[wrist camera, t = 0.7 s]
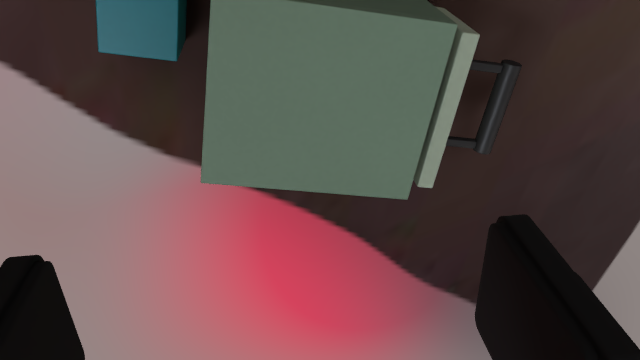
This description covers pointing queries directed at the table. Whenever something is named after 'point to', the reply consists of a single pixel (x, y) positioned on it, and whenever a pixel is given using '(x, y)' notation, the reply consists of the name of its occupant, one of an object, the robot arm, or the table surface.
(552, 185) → the table surface
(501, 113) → the drawer
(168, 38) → the cube
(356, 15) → the cabinet
